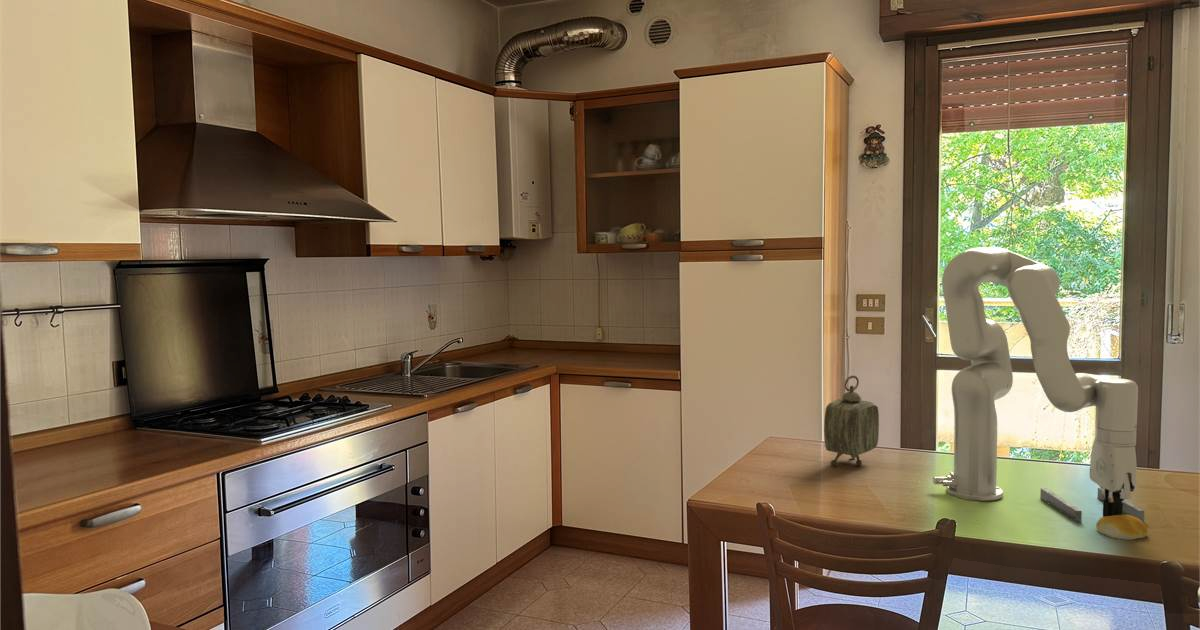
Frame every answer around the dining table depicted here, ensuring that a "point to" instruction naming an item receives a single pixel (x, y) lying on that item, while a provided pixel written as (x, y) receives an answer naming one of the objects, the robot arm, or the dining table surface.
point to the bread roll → (1122, 527)
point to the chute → (1077, 513)
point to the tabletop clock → (851, 425)
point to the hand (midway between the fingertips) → (1112, 518)
